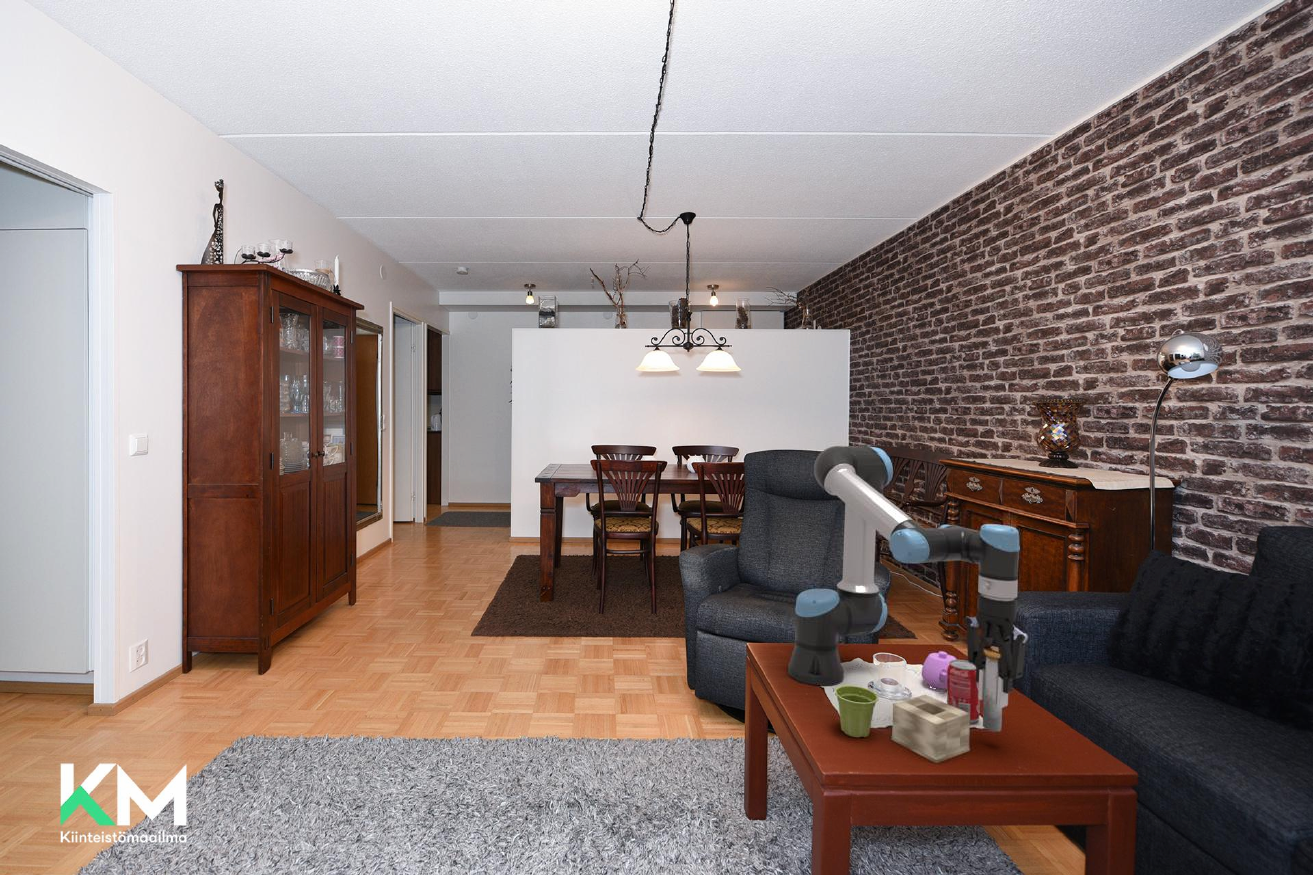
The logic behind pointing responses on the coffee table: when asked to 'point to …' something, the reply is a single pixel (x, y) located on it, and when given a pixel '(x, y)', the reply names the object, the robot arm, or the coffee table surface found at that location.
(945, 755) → the hollow square tube
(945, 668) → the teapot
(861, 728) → the plant pot
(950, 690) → the soda can
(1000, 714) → the gold capped peg
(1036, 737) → the coffee table surface
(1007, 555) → the robot arm
